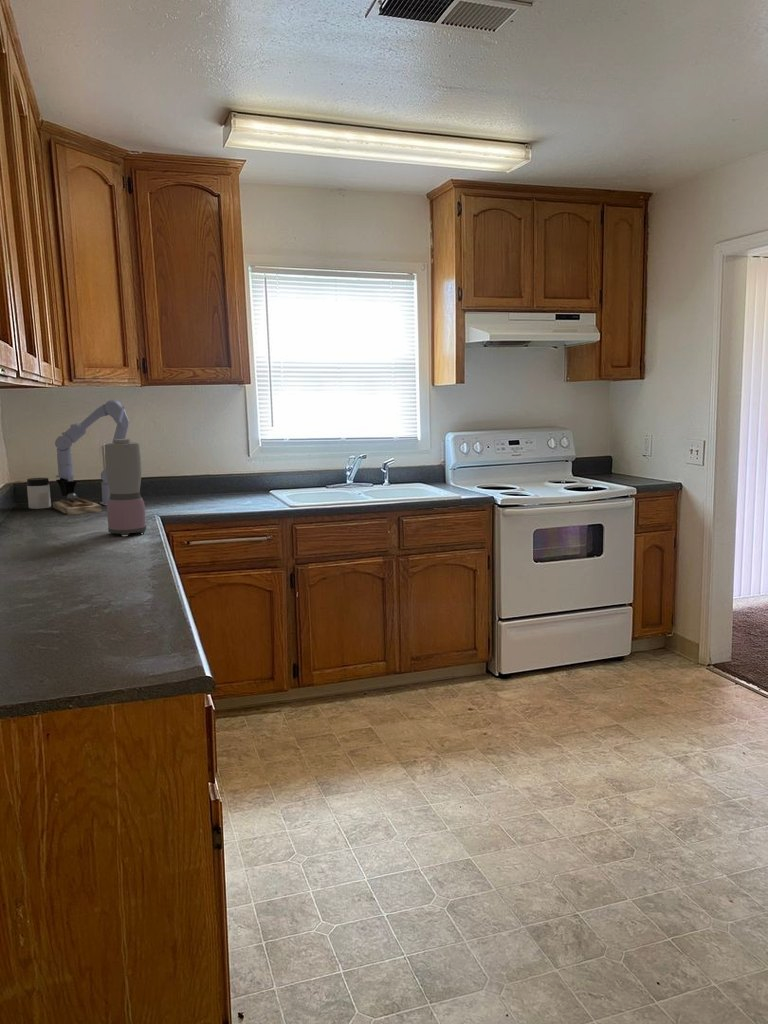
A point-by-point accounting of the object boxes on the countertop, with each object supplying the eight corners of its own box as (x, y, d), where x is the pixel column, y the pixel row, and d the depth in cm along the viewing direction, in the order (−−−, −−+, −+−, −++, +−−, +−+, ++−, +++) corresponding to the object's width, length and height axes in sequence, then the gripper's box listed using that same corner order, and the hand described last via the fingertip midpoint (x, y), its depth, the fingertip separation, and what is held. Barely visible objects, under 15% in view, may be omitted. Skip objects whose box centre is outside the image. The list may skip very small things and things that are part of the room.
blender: (153, 533, 255) (147, 439, 249) (118, 538, 246) (112, 441, 241) (131, 527, 266) (126, 437, 260) (98, 532, 257) (91, 439, 252)
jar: (32, 509, 306) (30, 480, 304) (25, 507, 312) (23, 478, 310) (54, 507, 312) (52, 478, 310) (47, 505, 318) (45, 477, 316)
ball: (76, 501, 313) (75, 491, 312) (79, 502, 310) (78, 492, 309) (66, 501, 310) (65, 492, 310) (68, 503, 307) (68, 493, 307)
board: (85, 504, 318) (85, 496, 318) (101, 511, 301) (101, 503, 300) (53, 507, 311) (52, 499, 310) (67, 514, 293) (67, 506, 293)
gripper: (50, 463, 317) (53, 495, 319) (59, 466, 305) (62, 499, 308) (68, 462, 321) (70, 494, 323) (77, 465, 310) (79, 497, 312)
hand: (67, 496), depth 316 cm, fingers open, 7 cm apart
